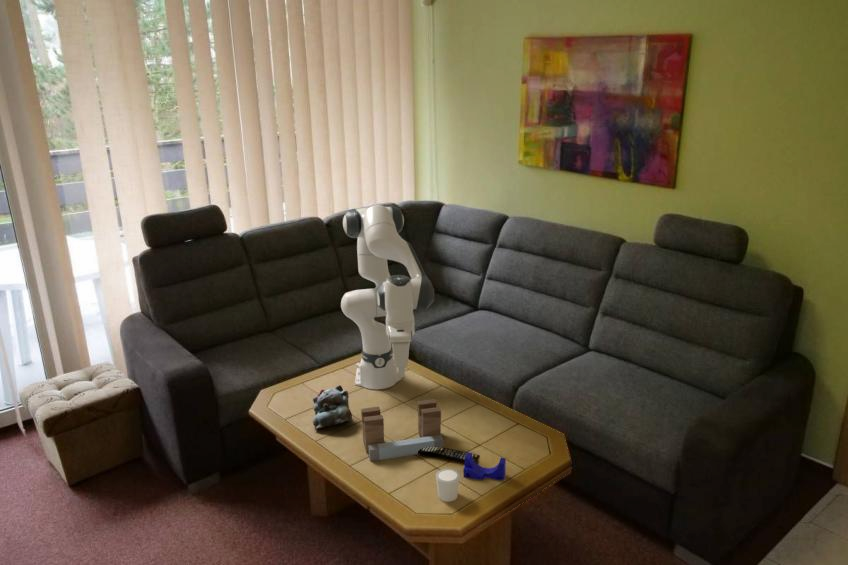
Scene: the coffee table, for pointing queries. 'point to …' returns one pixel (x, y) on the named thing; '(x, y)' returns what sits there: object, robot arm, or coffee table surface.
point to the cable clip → (483, 469)
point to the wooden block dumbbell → (375, 423)
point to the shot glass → (447, 484)
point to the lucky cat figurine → (331, 407)
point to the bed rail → (403, 447)
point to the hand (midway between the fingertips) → (401, 369)
